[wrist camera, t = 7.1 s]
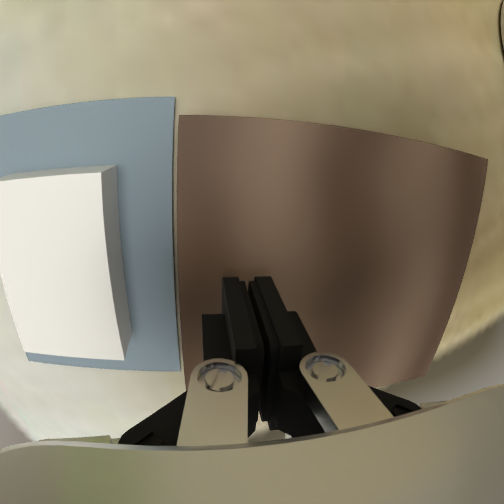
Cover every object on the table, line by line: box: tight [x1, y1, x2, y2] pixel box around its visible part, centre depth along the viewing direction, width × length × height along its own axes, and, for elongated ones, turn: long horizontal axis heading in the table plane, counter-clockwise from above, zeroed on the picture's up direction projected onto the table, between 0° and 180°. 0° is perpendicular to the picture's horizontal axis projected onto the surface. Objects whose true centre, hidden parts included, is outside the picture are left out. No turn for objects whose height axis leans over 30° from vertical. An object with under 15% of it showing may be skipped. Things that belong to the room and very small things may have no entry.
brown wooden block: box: [177, 115, 488, 391], centre depth 15 cm, size 14×13×4 cm
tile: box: [0, 165, 132, 360], centre depth 14 cm, size 6×9×2 cm, turn 177°
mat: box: [0, 97, 181, 371], centre depth 15 cm, size 10×15×1 cm
